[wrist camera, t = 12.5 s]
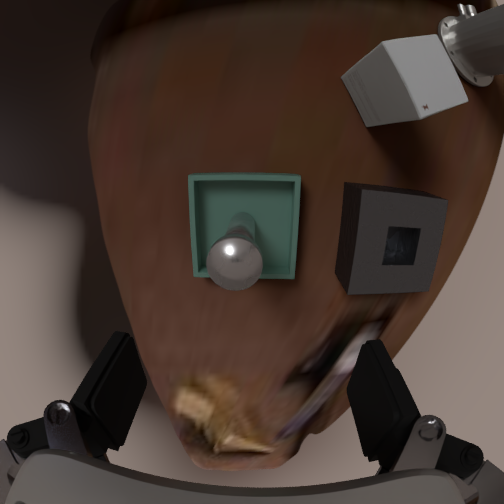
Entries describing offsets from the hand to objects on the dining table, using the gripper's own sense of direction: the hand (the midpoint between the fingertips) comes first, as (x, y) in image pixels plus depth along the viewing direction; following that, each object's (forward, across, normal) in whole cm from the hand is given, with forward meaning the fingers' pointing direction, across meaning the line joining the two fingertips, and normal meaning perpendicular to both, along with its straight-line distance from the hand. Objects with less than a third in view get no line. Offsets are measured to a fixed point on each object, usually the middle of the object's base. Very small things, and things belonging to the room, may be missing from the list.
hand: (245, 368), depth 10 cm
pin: (+24, +2, +1) cm, 24 cm away
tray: (+24, +1, +1) cm, 24 cm away
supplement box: (+25, -15, -17) cm, 33 cm away
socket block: (+24, -17, +1) cm, 30 cm away
